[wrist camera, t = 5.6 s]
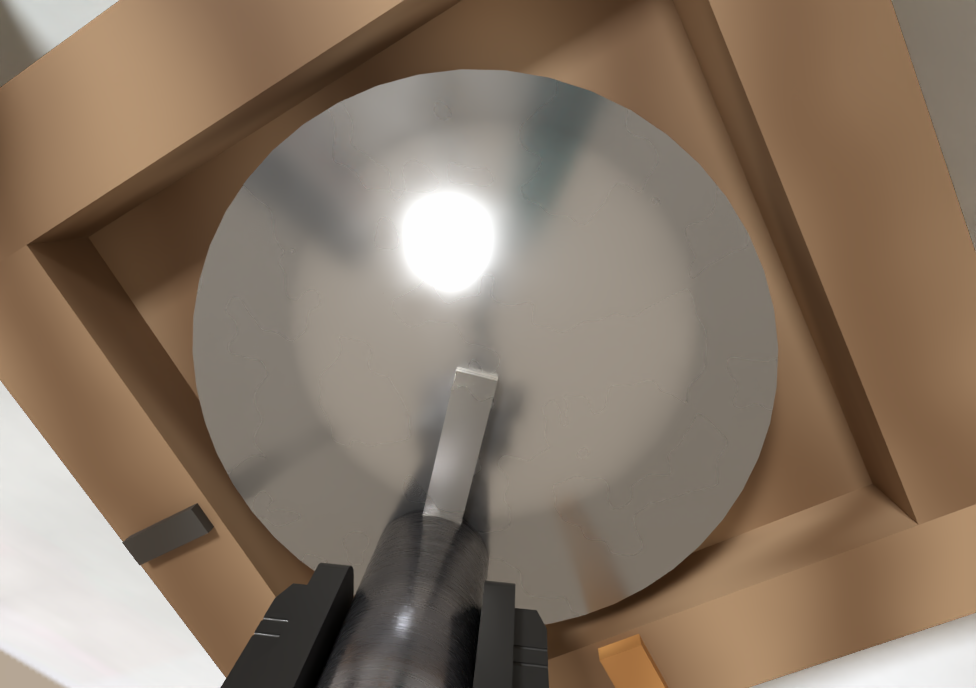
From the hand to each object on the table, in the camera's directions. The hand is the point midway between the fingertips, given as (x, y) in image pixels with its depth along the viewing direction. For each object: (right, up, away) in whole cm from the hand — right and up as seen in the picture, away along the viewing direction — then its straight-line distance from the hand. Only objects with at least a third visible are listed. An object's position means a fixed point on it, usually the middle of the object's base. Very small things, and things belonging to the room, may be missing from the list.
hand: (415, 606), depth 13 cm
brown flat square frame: (+2, +6, +4) cm, 7 cm away
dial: (+2, +6, +3) cm, 6 cm away
